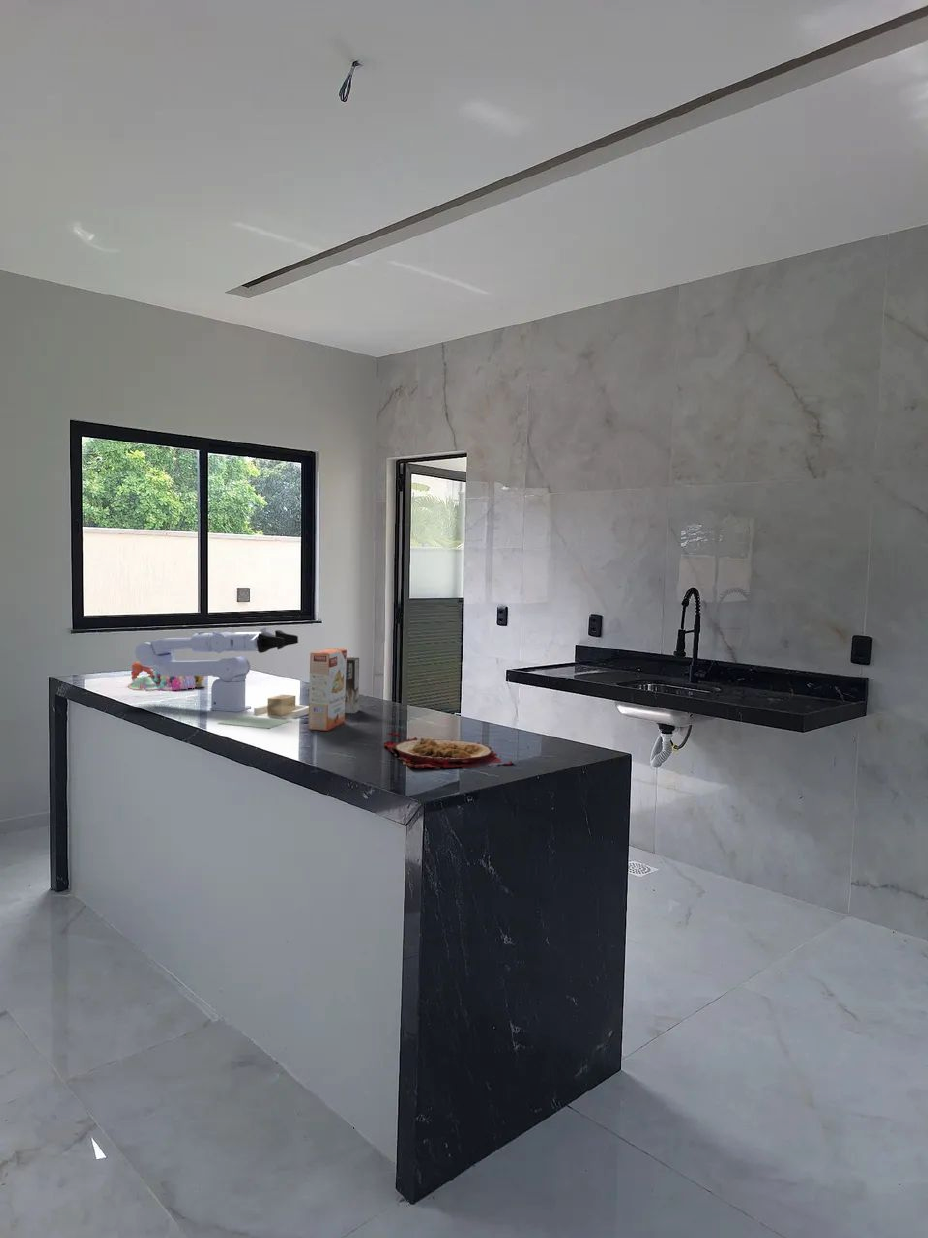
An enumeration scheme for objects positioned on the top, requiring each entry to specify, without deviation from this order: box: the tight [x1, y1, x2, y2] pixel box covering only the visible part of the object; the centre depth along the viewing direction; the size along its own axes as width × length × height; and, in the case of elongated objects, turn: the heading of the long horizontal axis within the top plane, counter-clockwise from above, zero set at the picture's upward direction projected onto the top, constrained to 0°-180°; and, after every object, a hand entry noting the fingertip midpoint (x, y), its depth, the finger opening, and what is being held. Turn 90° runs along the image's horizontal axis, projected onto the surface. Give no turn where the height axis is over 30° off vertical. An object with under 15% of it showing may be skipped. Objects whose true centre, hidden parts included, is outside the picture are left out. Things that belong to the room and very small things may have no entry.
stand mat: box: [217, 715, 293, 730], centre depth 241 cm, size 16×12×1 cm
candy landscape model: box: [127, 660, 206, 692], centre depth 302 cm, size 25×24×9 cm
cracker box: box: [307, 648, 348, 732], centre depth 238 cm, size 14×6×21 cm, turn 168°
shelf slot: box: [253, 703, 309, 720], centre depth 255 cm, size 13×11×2 cm
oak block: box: [266, 694, 296, 718], centre depth 254 cm, size 4×8×5 cm, turn 162°
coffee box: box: [345, 656, 360, 714], centre depth 262 cm, size 9×6×16 cm
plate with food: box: [382, 732, 515, 770], centre depth 208 cm, size 25×26×4 cm
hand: (290, 640), depth 253 cm, fingers open, 7 cm apart
